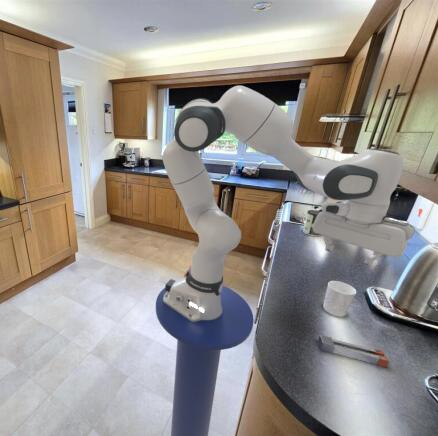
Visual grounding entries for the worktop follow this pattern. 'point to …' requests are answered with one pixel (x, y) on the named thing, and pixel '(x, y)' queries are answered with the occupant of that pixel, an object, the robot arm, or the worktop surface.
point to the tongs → (352, 351)
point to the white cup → (338, 298)
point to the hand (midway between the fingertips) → (347, 257)
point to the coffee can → (310, 222)
